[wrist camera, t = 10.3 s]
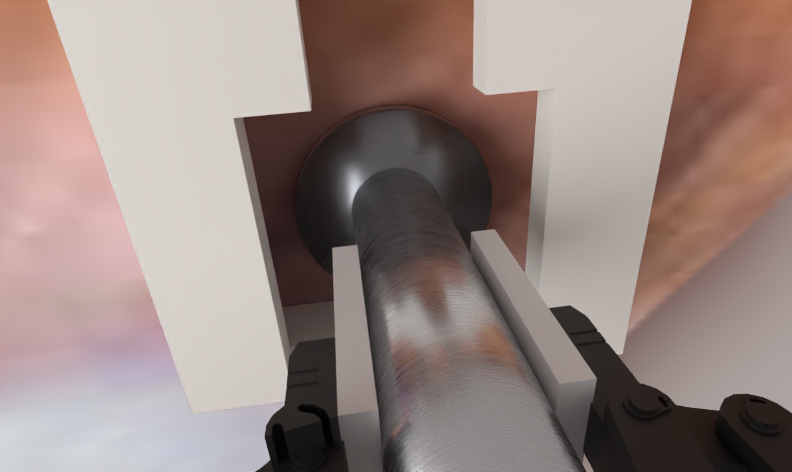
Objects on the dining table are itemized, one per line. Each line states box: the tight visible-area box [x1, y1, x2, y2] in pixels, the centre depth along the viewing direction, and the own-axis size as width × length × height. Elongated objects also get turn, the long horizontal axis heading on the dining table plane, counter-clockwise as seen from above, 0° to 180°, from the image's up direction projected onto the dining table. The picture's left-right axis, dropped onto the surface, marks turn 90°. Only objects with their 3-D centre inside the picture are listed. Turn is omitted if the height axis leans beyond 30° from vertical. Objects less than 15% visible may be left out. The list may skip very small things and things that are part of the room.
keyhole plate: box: [47, 0, 692, 414], centre depth 17 cm, size 24×18×4 cm
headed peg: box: [296, 105, 586, 472], centre depth 13 cm, size 8×8×18 cm
